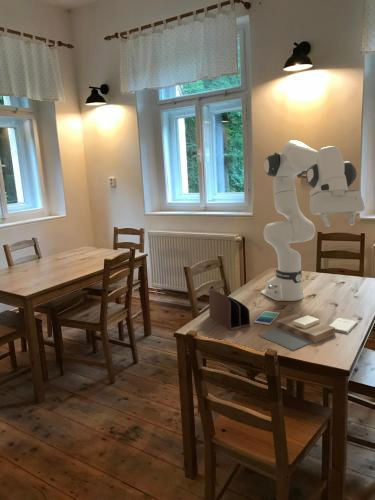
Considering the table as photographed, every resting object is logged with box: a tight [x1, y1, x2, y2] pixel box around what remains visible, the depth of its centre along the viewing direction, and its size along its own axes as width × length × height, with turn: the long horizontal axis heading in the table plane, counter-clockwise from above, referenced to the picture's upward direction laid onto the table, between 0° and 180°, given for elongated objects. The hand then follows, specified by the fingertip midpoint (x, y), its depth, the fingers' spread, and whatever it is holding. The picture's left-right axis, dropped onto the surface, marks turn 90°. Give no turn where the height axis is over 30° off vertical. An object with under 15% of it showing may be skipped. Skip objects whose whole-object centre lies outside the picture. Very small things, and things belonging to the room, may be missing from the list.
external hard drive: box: [329, 317, 358, 335], centre depth 168 cm, size 2×8×12 cm
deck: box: [275, 313, 336, 344], centre depth 166 cm, size 20×12×3 cm, turn 34°
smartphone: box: [253, 310, 280, 326], centre depth 182 cm, size 8×1×15 cm
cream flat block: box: [293, 314, 320, 329], centre depth 166 cm, size 6×9×2 cm, turn 124°
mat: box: [258, 327, 313, 352], centre depth 160 cm, size 18×11×1 cm, turn 34°
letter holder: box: [208, 288, 251, 332], centre depth 180 cm, size 10×20×14 cm, turn 23°
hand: (340, 225), depth 147 cm, fingers open, 8 cm apart
